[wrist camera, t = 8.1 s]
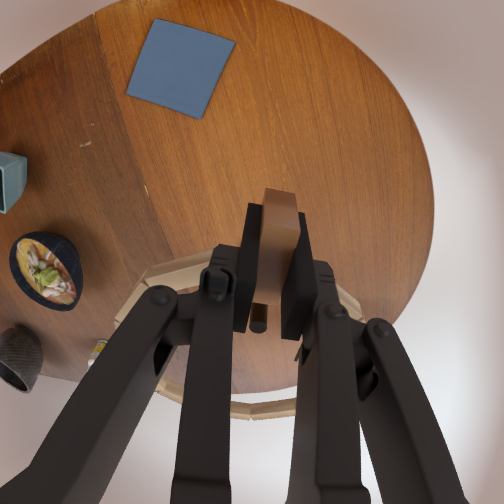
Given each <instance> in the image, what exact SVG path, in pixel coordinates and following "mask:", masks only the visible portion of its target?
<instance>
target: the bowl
mask: <svg viewBox="0 0 504 504" xmlns="http://www.w3.org/2000/svg"><path fill="white" fill-rule="evenodd" d="M9 263H10V269H11V272H12V275H13V277H14V279H15V281H16V283H17V284H18V286H19V287H20V288H21V290H22V291H23V292H24V293H25V294H26V295H27V296H29V297H30V298H31V299H33V300H34V301H36V302H37V303H39V304H41V305H43V306H45V307H47V308H50V309H53V310H57V311H70V310H72V309H73V308H74V307H75V306H76V304H77V303H78V301H79V299H80V296H81V293H82V288H83V275H82V269H81V265H80V262H79V255H78V252H77V250H76V248H75V246H74V245H73V244H72V243H71V242H70V241H69V240H68V239H67V238H65V237H63V236H60V235H54V234H51V233H47V232H32V233H28V234H25V235H23V236H22V237H20V238H19V239H18V240H17V241H16V242H15V243H14V244H13V246H12V248H11V251H10V256H9Z"/></svg>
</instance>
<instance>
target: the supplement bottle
mask: <svg viewBox="0 0 504 504" xmlns="http://www.w3.org/2000/svg"><path fill="white" fill-rule="evenodd" d="M107 342H108V341H106V340H99V341H98V342H97V344H96V346H95V348H94V350H93V352H92V355H91V357H90V359H89V361H88V365H89V367H88V370H89V368H90V367H91V365H92V364H93V362H94V361H95V359H96V358H97V356H98V355H99V353H100V352H101V351H102V349H103V348H104V346H105V345H106V343H107ZM88 370H87V371H88Z"/></svg>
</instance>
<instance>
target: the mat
mask: <svg viewBox="0 0 504 504" xmlns="http://www.w3.org/2000/svg"><path fill="white" fill-rule="evenodd" d="M234 45H235V42H233V41H231V40H228V39H225V38H222V37H219V36H216V35H213V34H210V33H207V32H204V31H200V30H197V29H194V28H190V27H187V26H183V25H180V24H176V23H172V22H168V21H164V20H160V19H155V20H154V22H153V24H152V27H151V29H150V31H149V33H148V36H147V38H146V41H145V43H144V46H143V48H142V50H141V53H140V56H139V58H138V61H137V63H136V66H135V69H134V72H133V74H132V77H131V80H130V83H129V86H128V89H127V92H126V94H128V95H131V96H134V97H137V98H140V99H143V100H147V101H150V102H153V103H156V104H158V105H161V106H164V107H167V108H170V109H173V110H176V111H178V112H181V113H184V114H187V115H189V116H192V117H195V118H197V119H201V118H202V116H203V113H204V111H205V108H206V106H207V104H208V101H209V99H210V97H211V94H212V92H213V90H214V88H215V85H216V83H217V81H218V79H219V77H220V74H221V72H222V70H223V68H224V66H225V64H226V61H227V59H228V57H229V55H230V53H231V51H232V49H233V47H234Z"/></svg>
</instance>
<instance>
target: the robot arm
mask: <svg viewBox="0 0 504 504" xmlns="http://www.w3.org/2000/svg"><path fill="white" fill-rule="evenodd" d="M261 214H262V205H259V204H254V203H248V208H247V214H246V220H245V225H244V231H243V236H242V242H241V248H240V247H234V246H228V245H223V244H219V245H218V246H217V247H215V248H214V249H213V252H212V256H211V259H210V263H209V266H208V267H206V268H204V269H203V270H202V272H201V274H200V283H199V290H197V291H196V292H193V293H190V294H178V295H177V292H176V291H175V290H174V289H173V288H171V287H169V286H165V285H154V286H151V287H149V288H148V289H146V290H145V291H144V292H143V294H142V295H141V296H140V298H139V299H138V300H137V302H136V303H135V304H134V306H133V307H132V309H131V310H130V311H129V313H128V314H127V315H126V317H125V318H124V320H123V321H122V322H121V324H120V325H119V326H118V328H117V329H116V331H115V332H114V333H113V335H112V336H111V338H110V339H109V341H108V342H107V343H106V345H105V346H104V348H103V349H102V351H101V352H100V353H99V355H98V356H97V358H96V359H95V361H94V362H93V364H92V365H91V367H90V368H89V370H88V371H87V373H86V374H85V376H84V377H83V379H82V380H81V382H80V383H79V385H78V386H77V388H76V390H75V391H74V392H73V394H72V395H71V397H70V399H69V400H68V402H67V403H66V405H65V406H64V408H63V410H62V411H61V413H60V415H59V416H58V418H57V419H56V421H55V423H54V424H53V426H52V427H51V429H50V431H49V432H48V434H47V436H46V438H45V439H44V441H43V442H42V444H41V446H40V448H39V449H38V451H37V453H36V455H35V456H34V458H33V460H32V462H31V463H30V465H29V466H28V467H27V468H26V469H25V470H23V471H22V472H21V473H19V474H18V475H17V476H15V477H14V478H13V479H12V480H10V481H9V482H7V483H6V484H5V485H3V486H2V487H1V488H0V504H99V502H100V500H101V498H102V496H103V495H104V492H105V491H106V488H107V486H108V484H109V482H110V480H111V478H112V476H113V473H114V472H115V469H116V467H117V465H118V463H119V461H120V459H121V457H122V455H123V453H124V451H125V449H126V447H127V445H128V443H129V441H130V439H131V437H132V435H133V433H134V430H135V428H136V427H137V425H138V423H139V421H140V419H141V417H142V415H143V413H144V411H145V409H146V407H147V405H148V403H149V400H150V399H151V397H152V395H153V393H154V391H155V389H156V387H157V385H158V383H159V381H160V379H161V377H162V375H163V373H164V371H165V369H166V367H167V365H168V363H169V361H170V360H171V358H172V356H173V354H174V352H175V350H176V348H177V346H178V345H190V350H189V356H188V363H187V370H186V378H185V385H184V392H183V400H182V408H181V416H180V424H179V434H178V443H177V451H176V461H175V471H174V477H173V480H172V487H171V497H170V504H231V485H230V480H229V454H230V453H229V452H230V407H231V371H232V340H233V331H234V332H240V333H245V331H246V327H247V322H248V318H249V314H250V310H251V305H252V301H253V297H254V293H255V288H256V284H257V272H258V259H259V246H260V242H259V239H260V227H261ZM298 216H299V223H300V230H301V232H300V236H299V239H298V242H297V246H296V248H295V249H294V253H293V256H292V259H291V263H290V266H289V270H288V273H287V276H286V279H285V283H284V286H283V289H282V293H281V339H288V340H295V341H299V339H300V337H301V334H302V336H303V342H302V344H301V346H300V348H299V350H298V353H297V355H296V357H295V360H294V361H297V360H298V358H299V365H298V383H297V398H296V412H295V426H294V437H293V449H292V459H291V469H290V480H289V488H288V496H287V500H286V502H285V504H371V498H370V493H369V491H368V489H367V488H366V487H364V486H363V485H362V482H361V448H360V426H359V425H360V424H361V427H362V431H363V434H364V437H365V441H366V444H367V447H368V451H369V454H370V458H371V461H372V465H373V468H374V472H375V476H376V479H377V483H378V486H379V490H380V494H381V498H382V502H383V504H469V503H468V501H467V500H466V498H465V497H464V493H463V490H462V487H461V484H460V481H459V478H458V475H457V472H456V469H455V466H454V464H453V461H452V458H451V455H450V453H449V450H448V447H447V445H446V442H445V439H444V437H443V434H442V432H441V429H440V427H439V425H438V422H437V419H436V417H435V415H434V412H433V410H432V408H431V405H430V403H429V401H428V398H427V396H426V394H425V392H424V389H423V387H422V385H421V383H420V380H419V378H418V376H417V374H416V372H415V370H414V367H413V365H412V363H411V361H410V359H409V357H408V355H407V353H406V351H405V349H404V347H403V345H402V343H401V341H400V339H399V337H398V335H397V333H396V331H395V329H394V328H393V326H392V325H391V324H390V323H389V322H387V321H386V320H383V319H381V318H372V319H370V320H369V321H368V322H367V324H365V323H363V322H360V321H357V320H355V319H353V318H351V317H350V316H349V313H348V310H347V309H346V308H345V307H344V306H343V305H342V304H340V300H339V296H338V291H337V287H336V284H335V278H334V274H333V270H332V268H331V267H330V266H329V264H328V263H327V262H324V261H318V260H313V258H312V252H311V246H310V241H309V235H308V230H307V224H306V219H305V214H304V213H302V212H298ZM359 421H360V424H359Z"/></svg>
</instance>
